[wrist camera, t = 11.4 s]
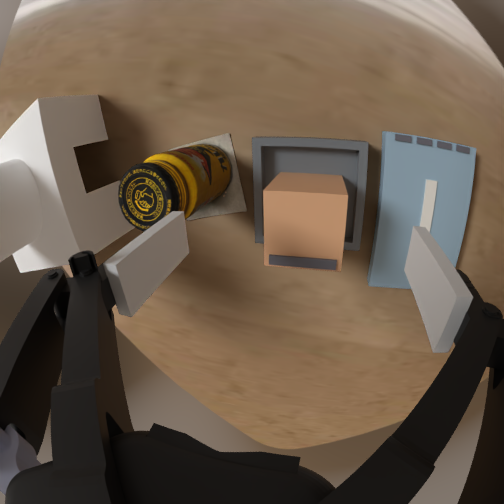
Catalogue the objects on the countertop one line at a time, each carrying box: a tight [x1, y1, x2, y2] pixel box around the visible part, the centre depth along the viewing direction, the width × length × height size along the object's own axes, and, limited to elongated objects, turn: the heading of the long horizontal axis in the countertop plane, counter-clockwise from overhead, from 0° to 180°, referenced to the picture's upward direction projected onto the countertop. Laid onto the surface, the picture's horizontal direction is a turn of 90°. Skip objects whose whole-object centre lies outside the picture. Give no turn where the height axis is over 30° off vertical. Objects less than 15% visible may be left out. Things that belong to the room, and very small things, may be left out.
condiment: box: [118, 133, 247, 232], centre depth 25 cm, size 7×8×12 cm
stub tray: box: [252, 137, 368, 251], centre depth 27 cm, size 11×11×2 cm
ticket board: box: [367, 131, 476, 289], centre depth 25 cm, size 16×10×2 cm, turn 2°
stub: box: [263, 172, 348, 272], centre depth 24 cm, size 6×6×8 cm
